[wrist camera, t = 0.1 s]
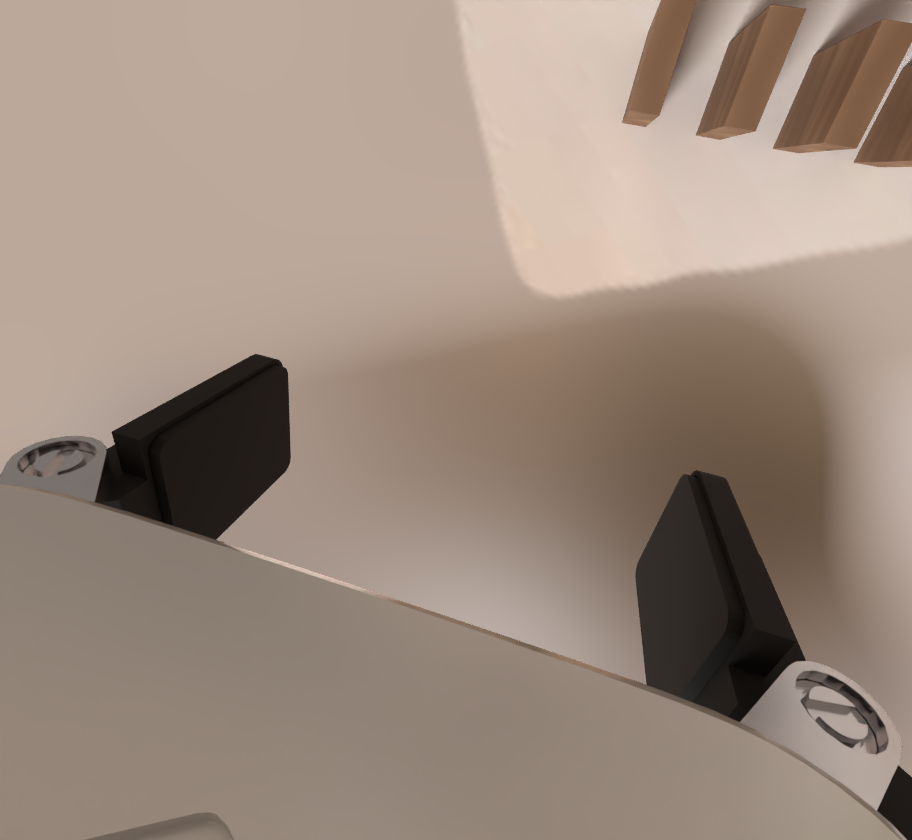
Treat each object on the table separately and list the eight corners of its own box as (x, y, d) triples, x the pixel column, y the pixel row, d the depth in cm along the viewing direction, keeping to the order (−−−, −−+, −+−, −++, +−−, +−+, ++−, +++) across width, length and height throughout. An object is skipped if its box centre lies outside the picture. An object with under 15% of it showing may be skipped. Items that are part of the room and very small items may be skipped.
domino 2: (695, 135, 32) (723, 125, 25) (729, 43, 29) (770, 4, 22) (720, 139, 31) (755, 131, 25) (755, 47, 29) (805, 9, 22)
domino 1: (622, 122, 32) (629, 110, 26) (648, 31, 30) (664, -10, 23) (645, 126, 32) (659, 115, 25) (673, 35, 30) (697, -5, 23)
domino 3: (772, 148, 31) (823, 142, 24) (814, 55, 28) (883, 19, 22) (798, 153, 31) (856, 148, 24) (841, 59, 28) (920, 24, 21)
